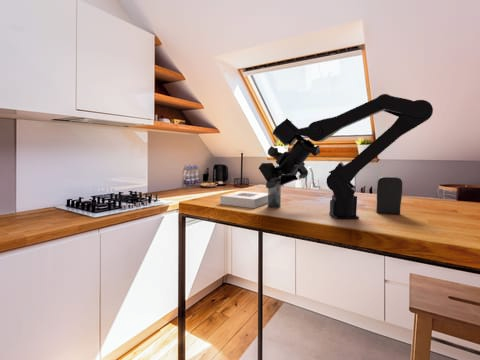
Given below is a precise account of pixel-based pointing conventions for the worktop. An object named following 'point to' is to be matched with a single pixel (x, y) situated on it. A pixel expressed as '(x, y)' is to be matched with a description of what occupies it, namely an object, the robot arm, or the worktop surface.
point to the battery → (389, 195)
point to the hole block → (245, 199)
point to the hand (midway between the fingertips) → (271, 186)
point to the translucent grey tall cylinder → (274, 195)
